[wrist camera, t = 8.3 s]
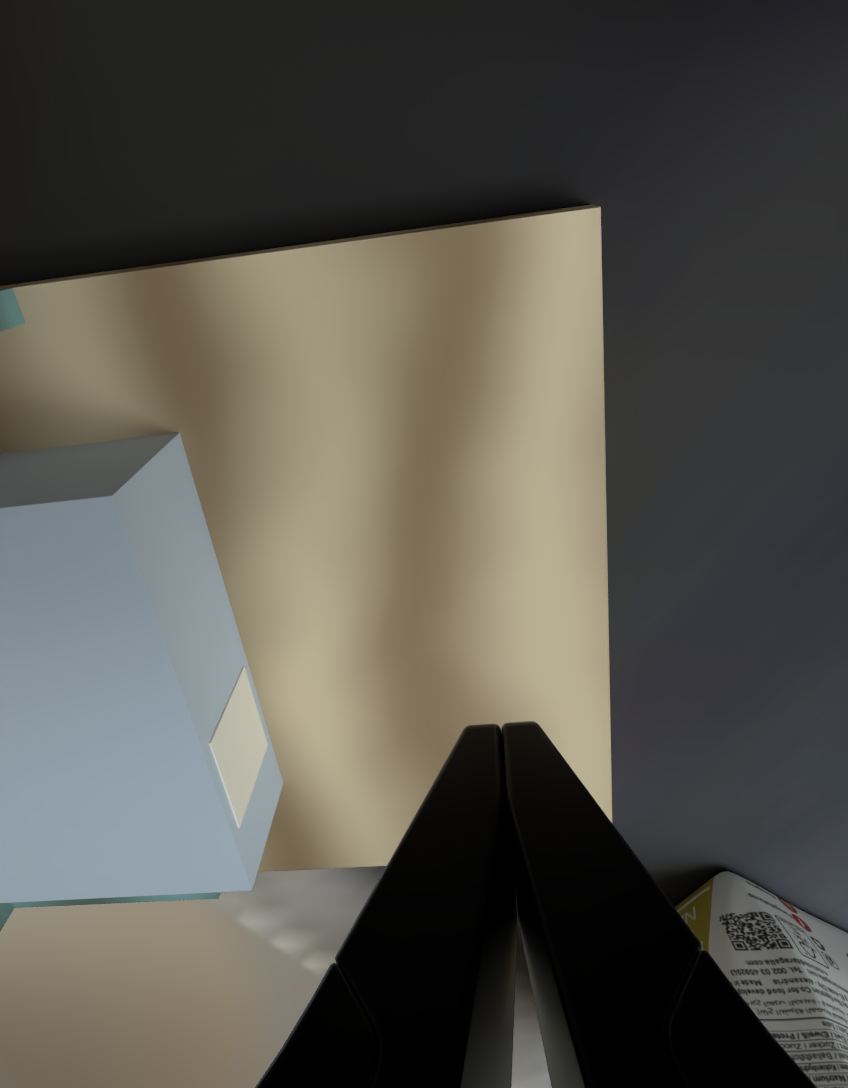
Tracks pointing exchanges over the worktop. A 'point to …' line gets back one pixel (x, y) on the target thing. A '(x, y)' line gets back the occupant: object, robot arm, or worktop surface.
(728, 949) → the juice carton
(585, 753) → the display board
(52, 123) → the worktop surface
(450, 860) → the robot arm
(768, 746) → the worktop surface
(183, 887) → the carton
